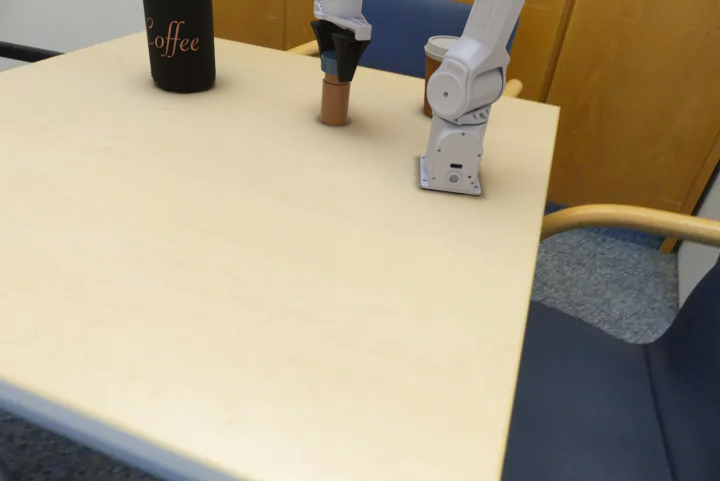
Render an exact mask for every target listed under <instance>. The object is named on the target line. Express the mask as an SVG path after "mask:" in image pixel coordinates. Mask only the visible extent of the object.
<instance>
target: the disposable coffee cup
mask: <svg viewBox="0 0 720 481" xmlns="http://www.w3.org/2000/svg"><path fill="white" fill-rule="evenodd" d="M460 37H461V36H460ZM460 37H459V36H454V35H435V36H431V37H429V38H428V40H427V42H426V44H425V45H424V47H423V50H424V52H425V53H424V54H425V71H424V72H425V74H424V92H423V93H424V95H423V112H424V114H425V115H427V116H428V117H430V118H433V114H432V108H431V106H430V104H429V102H428V98H427V84H428V81H429V79H430V77H431V76H432V74H433V73H434V72H435V71H436V70H437V69H438V68H439V67H440V65H441V64H442V61H443V59H444V56H445V54H446V53H447V52H448V50H449V49H450V48H451V47H452V46H453V45H454V44H455V43H456V42H457V41H458V40H459V38H460Z"/></svg>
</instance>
